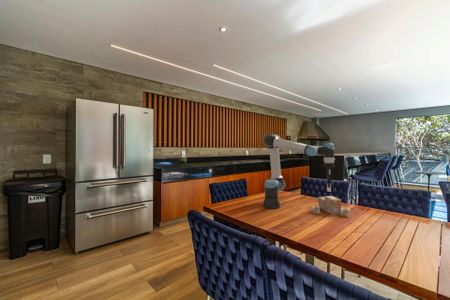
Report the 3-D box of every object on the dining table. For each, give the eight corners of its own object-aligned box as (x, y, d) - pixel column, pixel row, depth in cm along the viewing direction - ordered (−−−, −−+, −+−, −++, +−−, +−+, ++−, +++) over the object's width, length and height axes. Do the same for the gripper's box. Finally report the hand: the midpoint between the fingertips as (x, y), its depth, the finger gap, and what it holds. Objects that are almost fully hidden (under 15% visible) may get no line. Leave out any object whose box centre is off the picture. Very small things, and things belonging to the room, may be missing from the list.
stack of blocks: (318, 207, 187) (318, 193, 186) (325, 207, 187) (325, 193, 187) (333, 215, 165) (333, 199, 165) (341, 215, 166) (341, 199, 166)
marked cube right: (341, 216, 164) (341, 209, 164) (341, 214, 168) (341, 207, 168) (348, 217, 162) (349, 210, 161) (348, 215, 166) (348, 208, 166)
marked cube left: (312, 213, 171) (312, 206, 171) (311, 211, 176) (311, 205, 176) (319, 213, 170) (319, 207, 170) (318, 211, 175) (318, 205, 175)
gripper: (335, 163, 167) (334, 193, 168) (333, 162, 179) (333, 190, 180) (324, 163, 170) (324, 192, 170) (323, 161, 182) (323, 189, 182)
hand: (328, 191), depth 175 cm, fingers closed
